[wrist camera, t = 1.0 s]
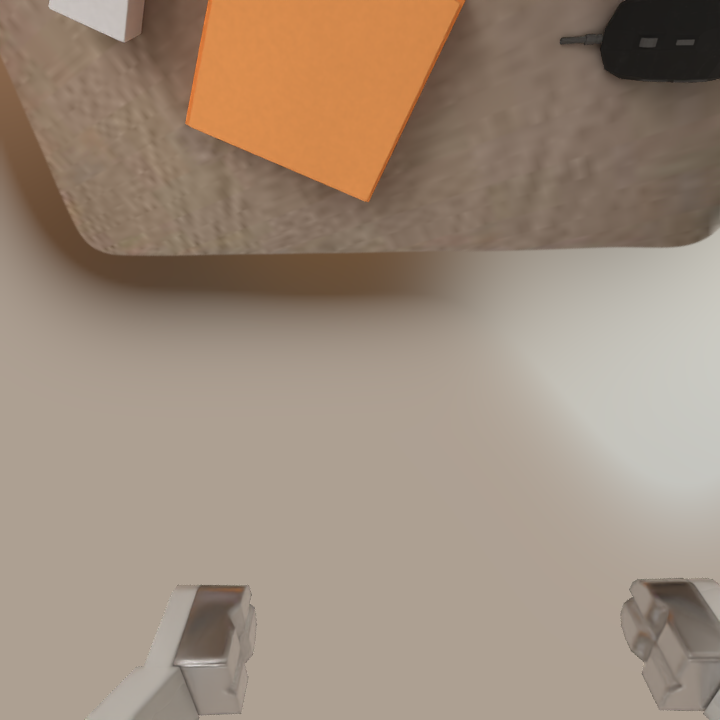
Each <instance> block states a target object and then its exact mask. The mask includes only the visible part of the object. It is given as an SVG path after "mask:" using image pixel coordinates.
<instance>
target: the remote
mask: <svg viewBox="0 0 720 720" xmlns="http://www.w3.org/2000/svg"><path fill="white" fill-rule="evenodd" d="M144 3H145V0H49V9H51V10H53V11H55V12H57V13H60V14H62V15H64V16H66V17H68V18H71V19H73V20H75V21H77V22H79V23H81V24H84V25H86V26H88V27H90V28H92V29H95V30H97V31H99V32H101V33H103V34H105V35H108V36H110V37H112V38H114V39H116V40H119V41H121V42H123V43H125V42H127V41H129V40H131V39H132V38H134V37H136V36H138V35H140V34H141V29H142V21H143V12H144Z"/></svg>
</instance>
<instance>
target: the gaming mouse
mask: <svg viewBox="0 0 720 720" xmlns="http://www.w3.org/2000/svg"><path fill="white" fill-rule="evenodd" d="M601 42H602V45H601V49H600V51H601V56H602V60H603V65H604V69H605V70H606V71H608V72H610V73H612V74H613V75H615V76H617V77H618V78H621V79H628V80H638V81H654V82H707V81H712V80H716V79H720V0H625V1H624V2H622V3H621V4H620V5H619V7H618V9H617V10H616V12H615V14H614V15H613V17H612V18H611V20H610V22H609V23H608V25H607V26H606V28H605V32H604V35H602V34H598V35H597V36H596V35H595V34H587V35H585V37H569V38H561V40H560V44H571V43H584V45H589V44H594V43H596V44H599V43H601Z"/></svg>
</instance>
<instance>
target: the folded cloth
mask: <svg viewBox="0 0 720 720" xmlns="http://www.w3.org/2000/svg"><path fill="white" fill-rule="evenodd" d="M464 2H465V0H208V4H207V10H206V15H205V20H204V26H203V31H202V37H201V42H200V47H199V53H198V58H197V63H196V69H195V74H194V79H193V85H192V90H191V96H190V101H189V106H188V112H187V117H186V122H185V123H186V124H187V125H189V126H190V127H192V128H194V129H197V130H199V131H201V132H204V133H206V134H208V135H211V136H213V137H215V138H218V139H220V140H222V141H225V142H227V143H229V144H232V145H234V146H236V147H239V148H241V149H243V150H246V151H248V152H250V153H253V154H255V155H257V156H260V157H262V158H264V159H267V160H269V161H271V162H274V163H276V164H278V165H281V166H283V167H285V168H288V169H290V170H293V171H295V172H297V173H300V174H302V175H304V176H307V177H309V178H311V179H314V180H316V181H318V182H321V183H323V184H325V185H328V186H330V187H332V188H335V189H337V190H339V191H342V192H344V193H346V194H349V195H351V196H353V197H356V198H358V199H360V200H363V201H365V202H366V201H367V202H369V200H370V198H371V196H372V194H373V192H374V190H375V188H376V186H377V184H378V182H379V180H380V177H381V175H382V173H383V171H384V169H385V167H386V165H387V163H388V161H389V159H390V157H391V155H392V152H393V150H394V148H395V146H396V144H397V142H398V140H399V138H400V136H401V134H402V132H403V130H404V127H405V125H406V123H407V121H408V119H409V117H410V115H411V113H412V111H413V109H414V107H415V104H416V102H417V100H418V98H419V96H420V94H421V92H422V90H423V88H424V86H425V84H426V82H427V79H428V77H429V75H430V73H431V71H432V69H433V67H434V65H435V63H436V61H437V59H438V57H439V54H440V52H441V50H442V48H443V46H444V44H445V42H446V40H447V38H448V36H449V34H450V31H451V29H452V27H453V25H454V23H455V21H456V19H457V17H458V15H459V13H460V11H461V9H462V6H463V4H464Z"/></svg>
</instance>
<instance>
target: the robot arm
mask: <svg viewBox="0 0 720 720" xmlns="http://www.w3.org/2000/svg"><path fill="white" fill-rule="evenodd" d="M629 590H630V592H631V594H632V596H633V597H632V598H630V599H629V600H627V601H626V602H625V603H624V604H623V608H622V610H621V626H622V629H623V633H624V636H625V639H626V641H627V643H628V645H629V648H630V650H631V651H632V652H633V653H634V654H635V655H636V656H637V657H639V658H640V659H641V660H642V661H643V662H644V665H643V671H642V675H643V677H644V679H645V681H646V683H647V686H648V688H649V690H650V692H651V694H652V696H653V698H654V700H655V702H656V704H657V706H658V708H659V710H674V711H676V710H677V711H705V712H704V713H703V714H704V715H705V716H706V717H707V718H708V719H709V720H720V585H719V584H718V583H717V582H716V581H714V580H713V579H709V578H691V579H684V578H667V579H637V580H636V581H634V582H633V583H632V585H631V587H630V589H629ZM251 595H252V594H251V591H250V587H249V585H177V587H176V588H175V589H174V591H173V592H172V594H171V596H170V599H169V602H168V604H167V607H166V609H165V612H164V615H163V617H162V620H161V623H160V625H159V628H158V631H157V633H156V636H155V638H154V641H153V644H152V646H151V649H150V652H149V654H148V657H147V660H146V662H145V665H144V666H143V667H142V666H141V667H136V668H135V669H134V670H133V671H132V672H131V673H130V674H129V675H128V676H127V677H126V678H125V679H124V680H123V681H122V682H121V683H120V684H119V685H118V686H117V687H116V688H115V689H114V690H113V691H112V692H111V693H110V694H109V695H108V696H107V697H106V698H105V699H104V700H103V701H102V702H101V703H100V704H99V705H98V706H97V707H96V708H95V709H94V710H93V711H92V712H91V713H90V714H89V715H88V716H87V717H86V718H85V719H84V720H199V716H198V715H220V714H241V712H242V707H243V702H244V697H245V692H246V687H247V682H248V675H247V670H246V667H245V663H246V662H247V661H248V660H249V658H250V657H251V656H252V655H253V651H254V645H255V638H256V626H257V623H256V613H255V608H254V607H253V606H252V605H251V604H250V600H251Z"/></svg>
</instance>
